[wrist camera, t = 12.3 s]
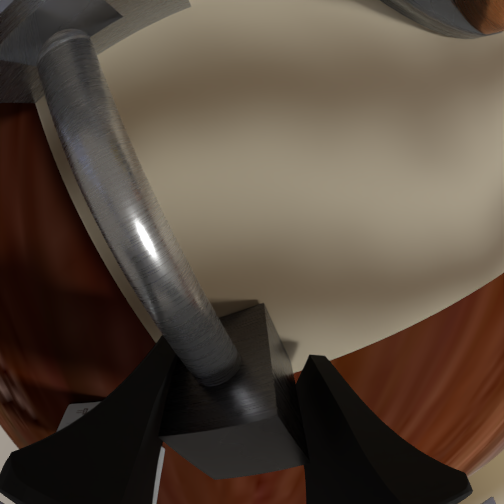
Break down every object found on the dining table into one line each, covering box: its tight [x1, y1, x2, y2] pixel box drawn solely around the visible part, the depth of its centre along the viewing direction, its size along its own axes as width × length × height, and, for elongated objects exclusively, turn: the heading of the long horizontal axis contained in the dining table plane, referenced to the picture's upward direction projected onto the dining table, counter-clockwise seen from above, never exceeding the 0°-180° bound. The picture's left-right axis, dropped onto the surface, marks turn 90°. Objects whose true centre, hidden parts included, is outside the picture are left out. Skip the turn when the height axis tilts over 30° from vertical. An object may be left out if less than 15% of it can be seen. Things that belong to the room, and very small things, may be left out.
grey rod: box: [37, 29, 310, 480], centre depth 6 cm, size 12×3×4 cm, turn 22°
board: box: [35, 0, 504, 373], centre depth 7 cm, size 20×20×1 cm
